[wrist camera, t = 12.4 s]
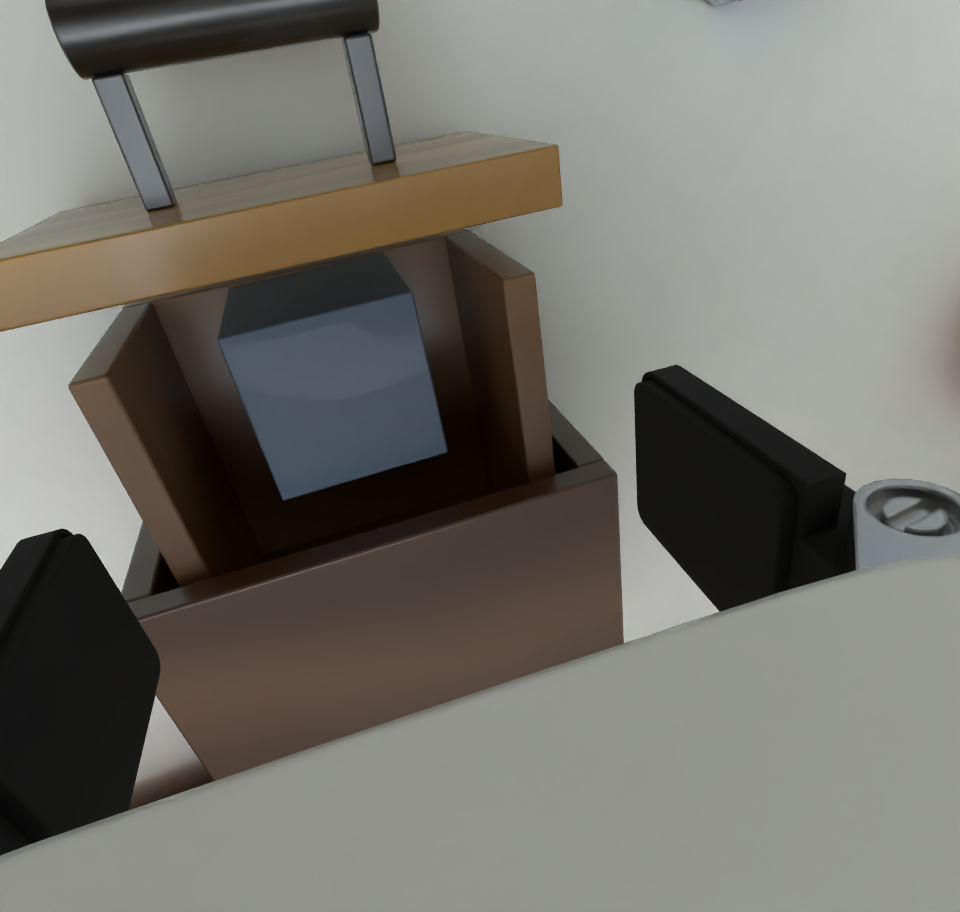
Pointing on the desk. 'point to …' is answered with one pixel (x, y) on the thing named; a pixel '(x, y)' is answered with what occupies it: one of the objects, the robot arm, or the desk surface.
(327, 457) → the block
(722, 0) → the medicine box
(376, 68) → the drawer
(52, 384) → the desk surface
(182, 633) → the cabinet
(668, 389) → the robot arm
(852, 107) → the desk surface
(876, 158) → the desk surface
